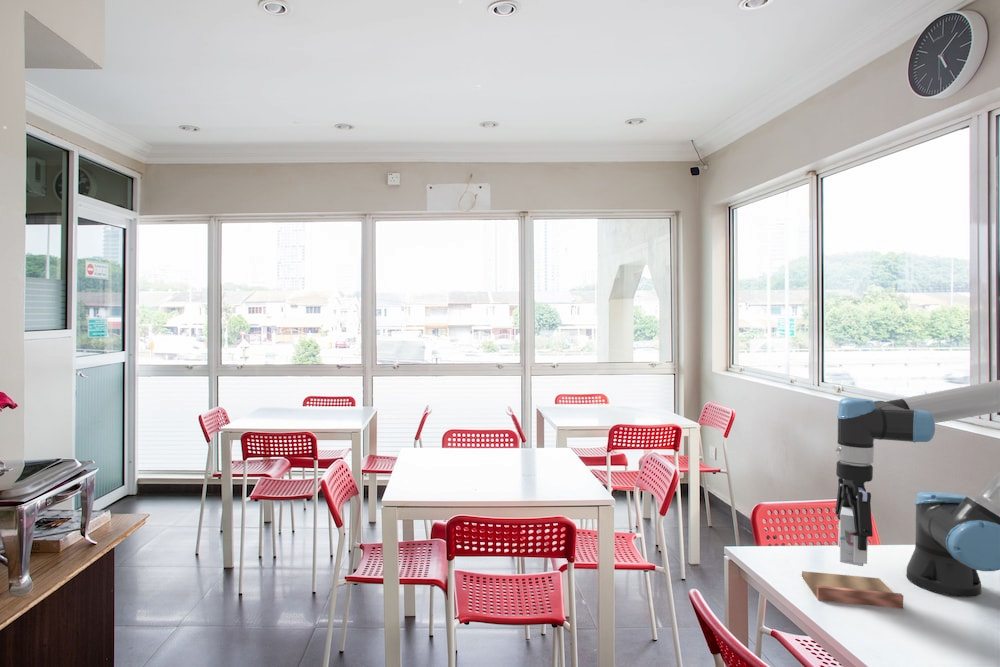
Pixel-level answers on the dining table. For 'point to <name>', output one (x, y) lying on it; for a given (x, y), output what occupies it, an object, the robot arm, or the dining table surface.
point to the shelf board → (852, 589)
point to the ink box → (847, 536)
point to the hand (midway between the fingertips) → (851, 554)
